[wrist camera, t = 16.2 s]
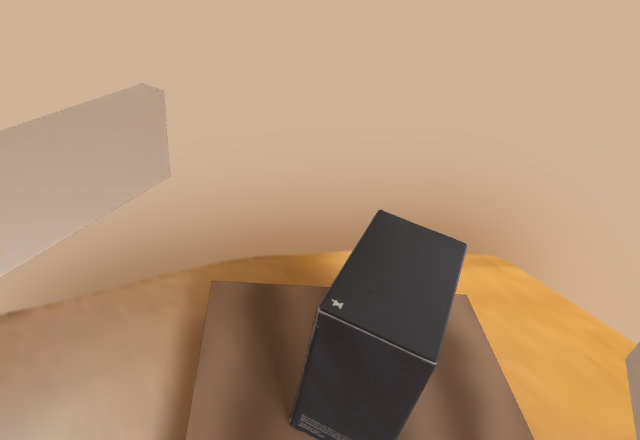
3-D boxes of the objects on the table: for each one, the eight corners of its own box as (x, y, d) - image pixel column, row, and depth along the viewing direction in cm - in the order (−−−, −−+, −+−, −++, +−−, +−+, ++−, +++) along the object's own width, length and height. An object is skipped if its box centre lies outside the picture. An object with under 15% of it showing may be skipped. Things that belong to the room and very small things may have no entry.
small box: (385, 479, 25) (443, 369, 19) (284, 426, 27) (308, 309, 21) (424, 347, 33) (473, 240, 27) (345, 313, 35) (375, 205, 29)
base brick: (451, 324, 41) (466, 294, 39) (544, 556, 27) (577, 531, 25) (211, 314, 38) (211, 280, 36) (171, 573, 24) (167, 546, 21)
